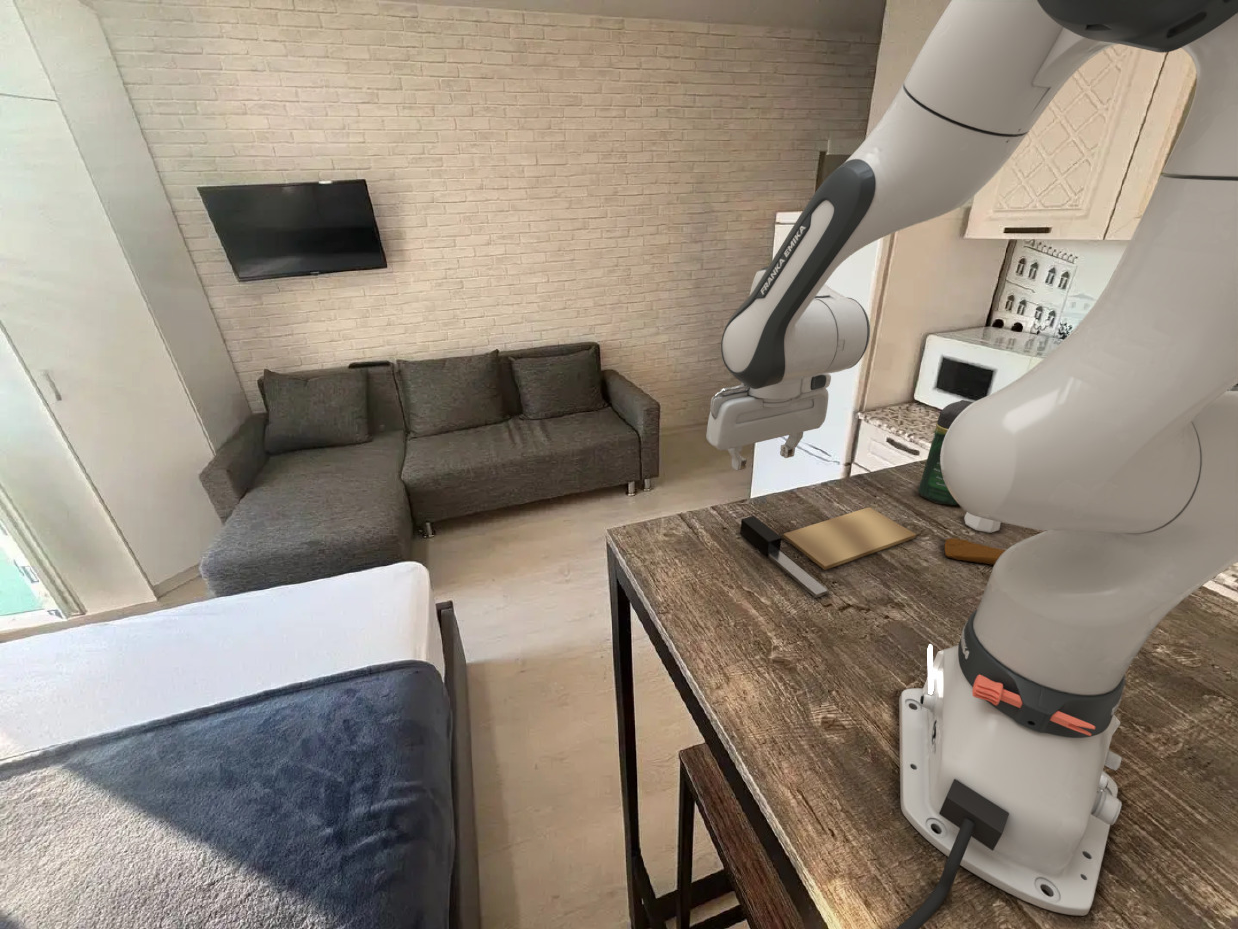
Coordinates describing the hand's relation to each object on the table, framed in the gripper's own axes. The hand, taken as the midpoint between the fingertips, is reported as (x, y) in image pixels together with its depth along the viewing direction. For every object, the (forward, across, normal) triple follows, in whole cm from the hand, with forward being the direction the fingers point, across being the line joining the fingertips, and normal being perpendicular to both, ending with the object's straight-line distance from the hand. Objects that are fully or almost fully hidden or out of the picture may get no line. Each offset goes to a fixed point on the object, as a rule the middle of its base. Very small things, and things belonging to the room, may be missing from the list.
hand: (763, 462), depth 82 cm
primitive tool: (+15, +31, -24) cm, 42 cm away
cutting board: (+15, +15, -7) cm, 22 cm away
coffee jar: (+15, +42, -4) cm, 45 cm away
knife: (+15, 0, -7) cm, 17 cm away
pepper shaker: (+15, +38, -14) cm, 43 cm away
